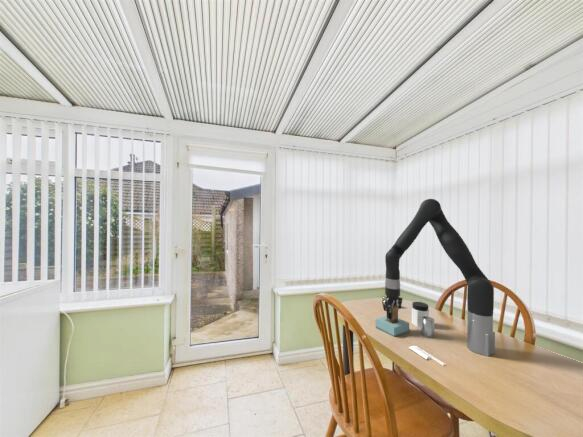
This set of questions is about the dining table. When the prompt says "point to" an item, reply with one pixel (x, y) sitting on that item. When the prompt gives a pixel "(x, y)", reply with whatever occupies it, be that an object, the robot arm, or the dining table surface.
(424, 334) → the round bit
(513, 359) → the dining table surface
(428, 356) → the white long flat piece
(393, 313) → the square peg
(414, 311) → the jar
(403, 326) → the socket block
